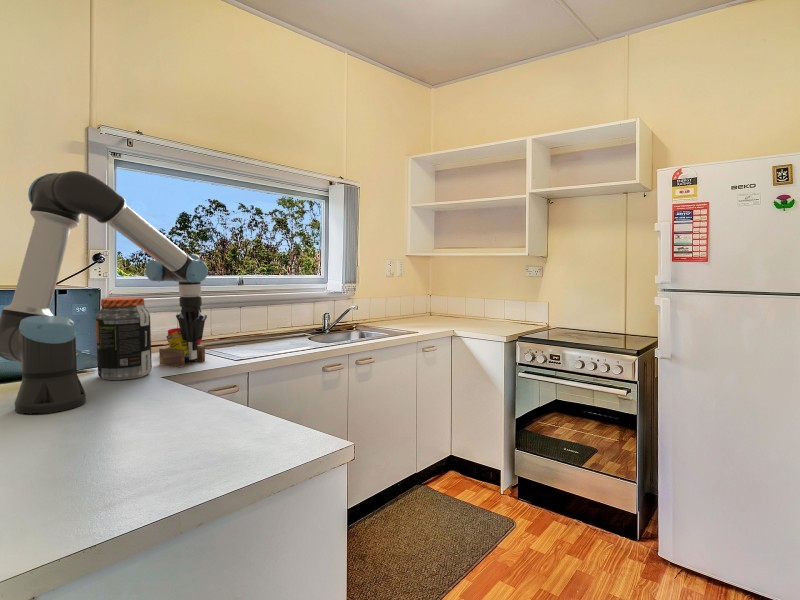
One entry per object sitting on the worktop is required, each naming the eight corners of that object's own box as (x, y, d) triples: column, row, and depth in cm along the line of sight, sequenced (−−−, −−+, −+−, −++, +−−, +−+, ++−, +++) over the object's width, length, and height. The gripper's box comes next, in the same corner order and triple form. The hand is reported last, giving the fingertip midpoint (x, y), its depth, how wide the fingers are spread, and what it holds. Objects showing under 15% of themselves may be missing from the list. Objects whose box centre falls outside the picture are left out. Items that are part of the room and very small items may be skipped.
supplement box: (186, 358, 179) (176, 330, 180) (175, 363, 181) (165, 336, 182) (198, 355, 184) (188, 328, 185) (187, 360, 186) (177, 334, 187)
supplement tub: (162, 372, 166) (160, 297, 164) (122, 383, 152) (119, 301, 150) (128, 368, 172) (125, 296, 170) (86, 378, 157) (82, 299, 155)
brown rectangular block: (181, 367, 176) (181, 350, 175) (159, 364, 179) (159, 348, 179) (205, 361, 186) (204, 345, 186) (184, 358, 190) (183, 343, 190)
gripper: (211, 295, 180) (213, 358, 182) (185, 295, 185) (187, 356, 187) (195, 296, 173) (198, 362, 175) (169, 296, 178) (172, 359, 180)
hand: (193, 358), depth 181 cm, fingers closed
